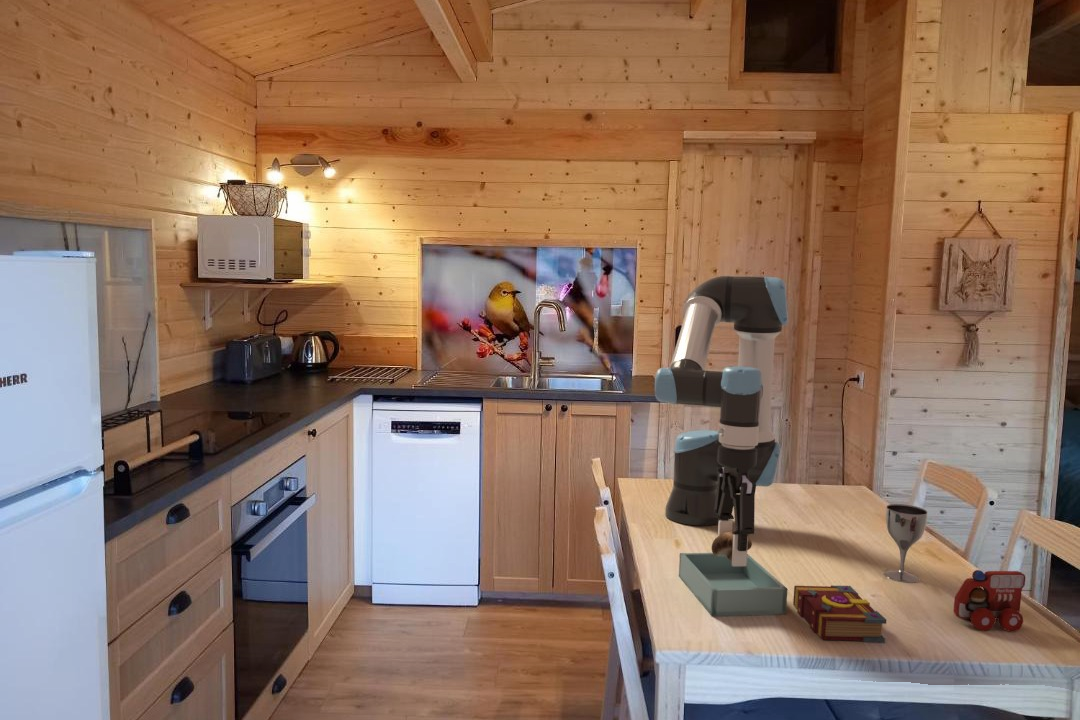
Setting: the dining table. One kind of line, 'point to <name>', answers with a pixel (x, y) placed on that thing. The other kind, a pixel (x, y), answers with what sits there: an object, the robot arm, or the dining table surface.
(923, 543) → the dining table surface
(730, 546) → the mushroom
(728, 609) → the open rectangular box
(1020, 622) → the toy fire truck
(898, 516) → the wine glass
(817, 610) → the decorative book
